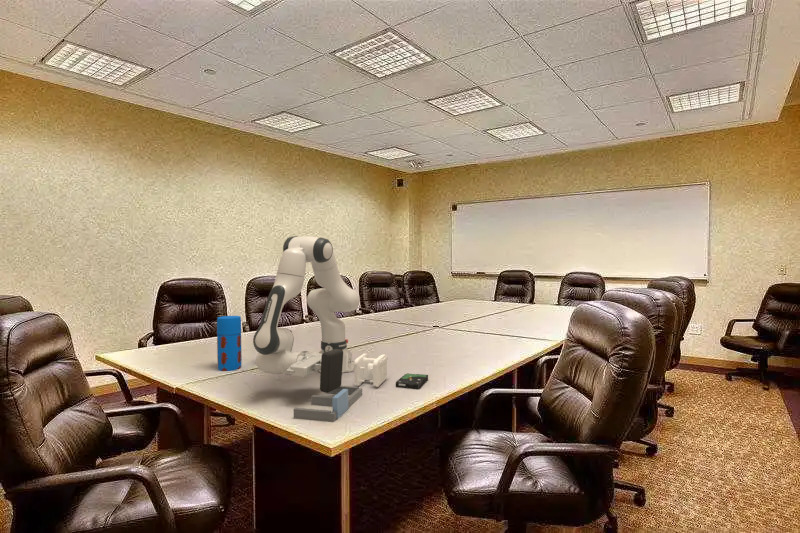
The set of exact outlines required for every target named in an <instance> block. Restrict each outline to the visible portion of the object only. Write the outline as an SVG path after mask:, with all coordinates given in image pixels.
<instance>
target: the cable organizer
mask: <svg viewBox="0 0 800 533" xmlns="http://www.w3.org/2000/svg"><path fill="white" fill-rule="evenodd" d="M388 358H389V357H388V356H387V354H381V355H379V356H378V357H377V358H372V357H369V355H368V353H363V354H361V355H359V356H358V357H357V358H355V360H354V370H353V372H354V378H353V380H354V385H355V386H356V387H360V386H361V385H362V383H365V382H366V381H369V383H370V385H371V383H372V384H373V387H375V388H379V387H380V386H381V385H382V384H383V383H384V382H385V380H386V379H387V376H388V365H387V364H388Z"/></svg>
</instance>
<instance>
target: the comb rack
mask: <svg viewBox="0 0 800 533" xmlns="http://www.w3.org/2000/svg"><path fill="white" fill-rule="evenodd" d="M327 394H334V396H330V395H328V396H327V395H319V394H318V395H316V394H312V395H311V396H310V397H311V398H310V399H311V406H325V407H332V410H330V409H329V410H328V409H327V410H326V409H315V408H304V407H294V408H293V419H300V420H310V421H311V420H312V421H323V422H332V423H334V422H335V421H336V420H338V419H339V418H340V417H342V416H343V414H344V413H346V412H347V411H348V410H349V408H350V407H351V406H352V405H353V404H354V403H355V402H356V401H357V400H358V399H359V398H360V397H361V396H362V395H363V387H360V386H356V385H355V386H352V385H341V386H340V387H339V388H337V389H335V390H332V391H330V392H328V393H327Z"/></svg>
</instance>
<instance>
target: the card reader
mask: <svg viewBox="0 0 800 533" xmlns="http://www.w3.org/2000/svg"><path fill="white" fill-rule="evenodd" d="M342 365H343V350H341V349H334V350H331V351H327V352H324V353H323V354H322V358H321V372H320V376H319V377H320V378H319V379H320V380H319V390H320V392H322V393H325V394H329V393H328V392H330V391H332V390H335V389H337V388H339V387H340V386H342V378H343V377H342V376H343V373H342Z"/></svg>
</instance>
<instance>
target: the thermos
mask: <svg viewBox="0 0 800 533" xmlns="http://www.w3.org/2000/svg"><path fill="white" fill-rule="evenodd" d="M216 338H217V339H216V341H217V344H216V345H217V347H216V348H217V349H216V350H217V352H216V353H217V354H216V355H217V370H218V371H220V372H232V371H237V370H241V369H242V360H243V359H242V318H241V316H240V315H223V316H218V317H217V319H216Z"/></svg>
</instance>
